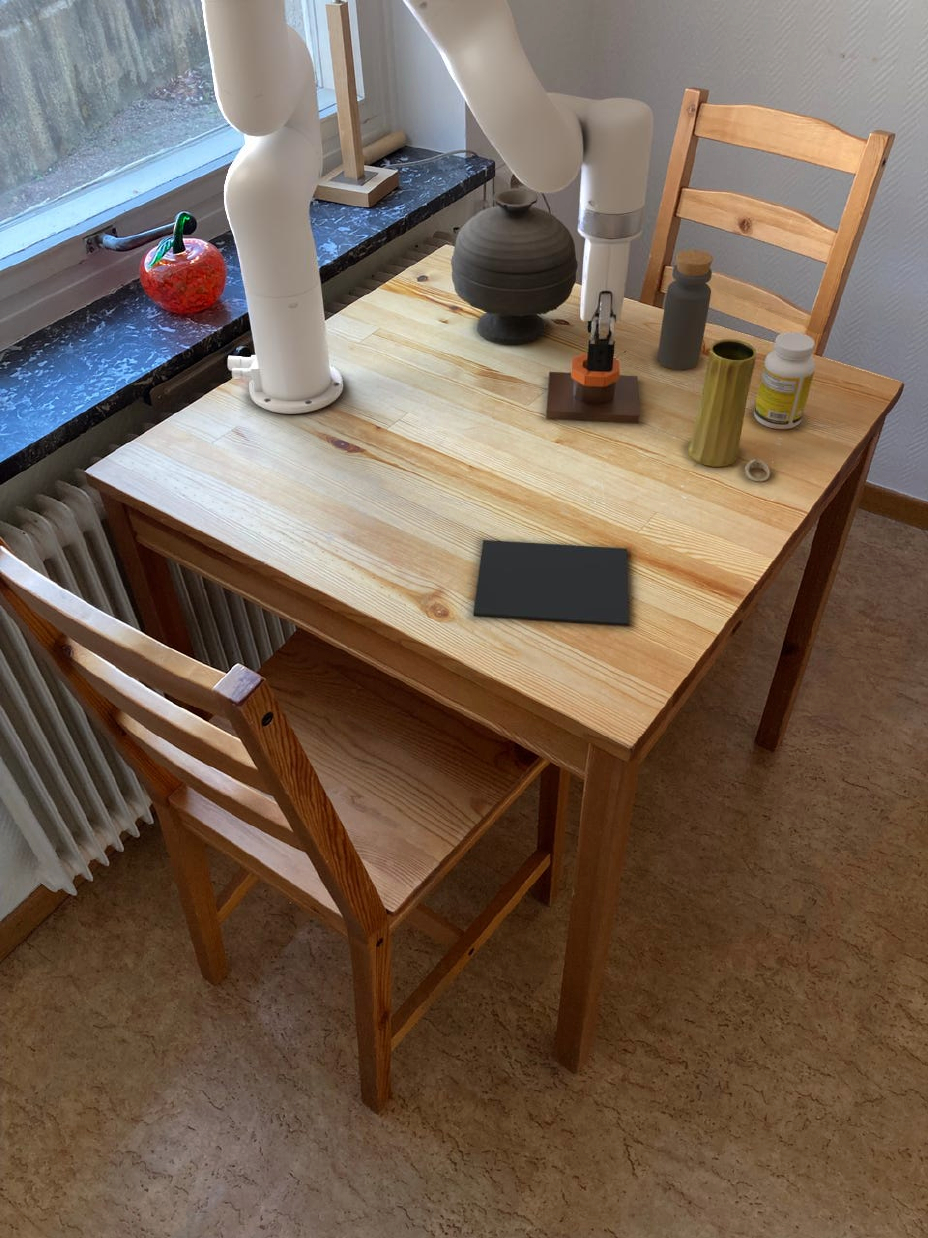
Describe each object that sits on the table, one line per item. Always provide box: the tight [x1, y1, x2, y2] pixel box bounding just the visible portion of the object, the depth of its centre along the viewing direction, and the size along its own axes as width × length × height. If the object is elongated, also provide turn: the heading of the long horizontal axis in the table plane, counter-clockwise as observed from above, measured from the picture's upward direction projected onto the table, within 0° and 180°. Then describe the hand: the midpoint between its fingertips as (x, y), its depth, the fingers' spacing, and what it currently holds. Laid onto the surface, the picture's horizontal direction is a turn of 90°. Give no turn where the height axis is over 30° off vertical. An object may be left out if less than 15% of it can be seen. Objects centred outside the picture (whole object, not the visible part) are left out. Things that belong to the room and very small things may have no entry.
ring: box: [743, 458, 771, 483], centre depth 121 cm, size 2×3×3 cm
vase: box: [687, 338, 757, 468], centre depth 119 cm, size 6×6×14 cm
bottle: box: [657, 249, 714, 371], centre depth 136 cm, size 6×6×15 cm
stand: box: [545, 371, 640, 424], centre depth 130 cm, size 12×10×8 cm
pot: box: [450, 187, 579, 346], centre depth 141 cm, size 18×18×20 cm
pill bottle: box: [753, 331, 816, 430], centre depth 126 cm, size 6×6×11 cm
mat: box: [472, 539, 630, 627], centre depth 107 cm, size 16×12×1 cm
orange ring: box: [570, 351, 621, 387], centre depth 130 cm, size 6×6×1 cm
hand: (599, 350), depth 128 cm, fingers open, 9 cm apart
